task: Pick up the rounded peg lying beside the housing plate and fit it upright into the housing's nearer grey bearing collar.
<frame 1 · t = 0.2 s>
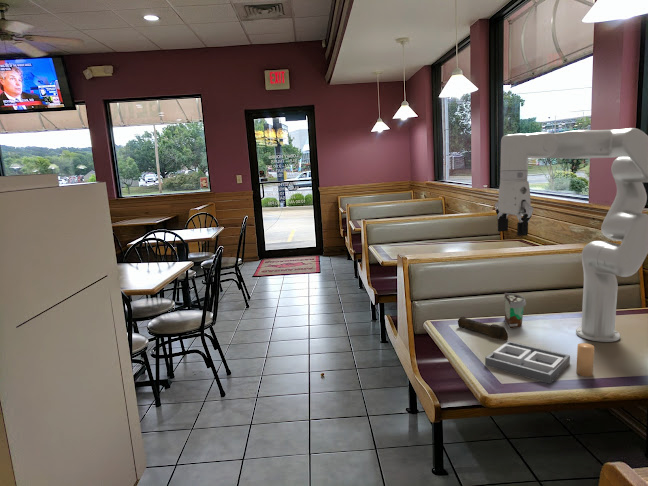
hand: (512, 233, 142), 37 cm above the table, tool pointing down, fingers open, 9 cm apart
rounded peg: (584, 373, 129), on the table
housing: (527, 364, 136), on the table
food container: (515, 324, 169), on the table
hand tool: (483, 334, 162), on the table
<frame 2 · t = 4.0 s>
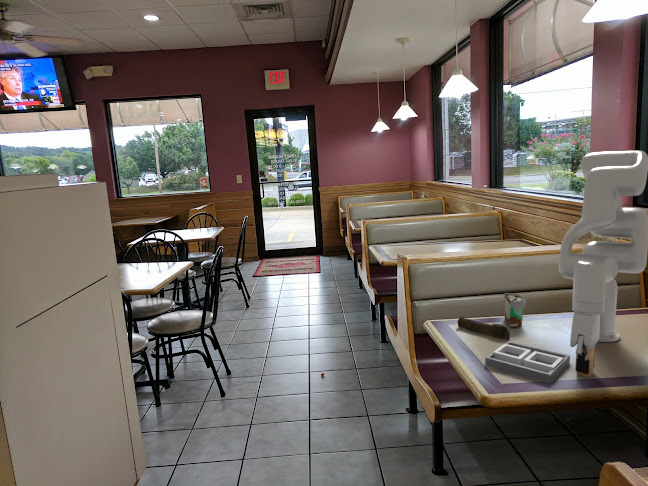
hand: (584, 368, 129), 1 cm above the table, tool pointing down, fingers closed on rounded peg, 4 cm apart
rounded peg: (584, 373, 129), on the table, touching gripper
when the fingers open (4 cm above the table, at t = 9.0 s): rounded peg drops 1 cm, resting on housing.
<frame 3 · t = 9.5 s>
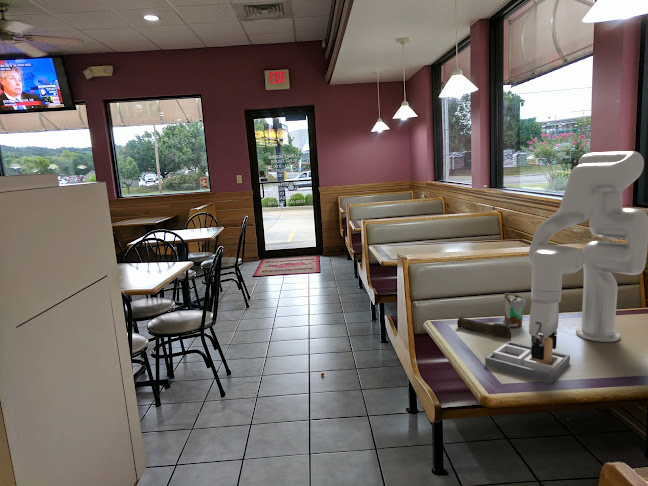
hand: (543, 353, 132), 5 cm above the table, tool pointing down, fingers open, 9 cm apart
rounded peg: (543, 365, 133), point 1 cm above the table, touching housing
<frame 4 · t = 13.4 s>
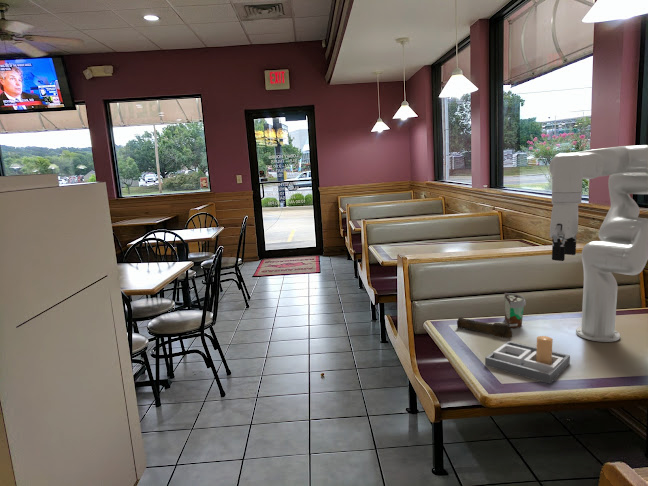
hand: (563, 257, 136), 30 cm above the table, tool pointing down, fingers open, 9 cm apart
at the end: rounded peg 0.1 cm from the target spot on the housing, point 1.0 cm above the housing's base; rounded peg tilted 0°; the gripper is holding nothing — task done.
